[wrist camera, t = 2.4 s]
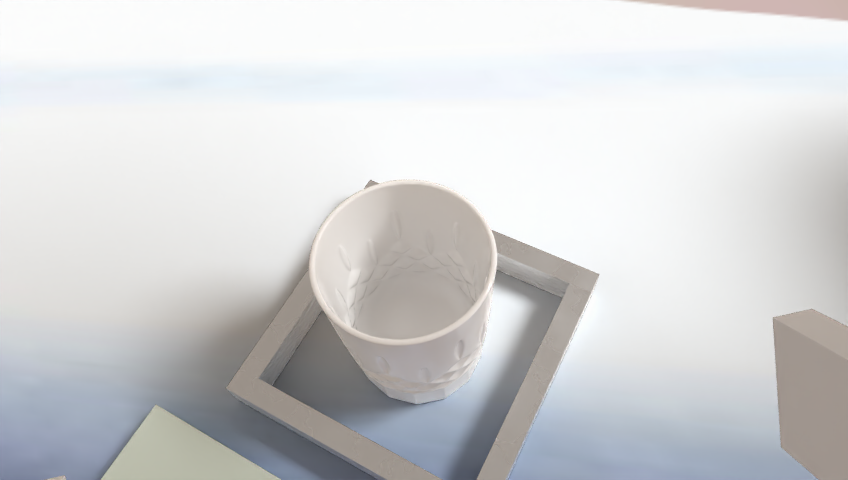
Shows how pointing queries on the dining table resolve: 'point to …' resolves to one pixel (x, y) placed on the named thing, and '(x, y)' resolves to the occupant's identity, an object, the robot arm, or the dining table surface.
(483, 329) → the white cup
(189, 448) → the sage tile
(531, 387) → the square frame
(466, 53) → the dining table surface
